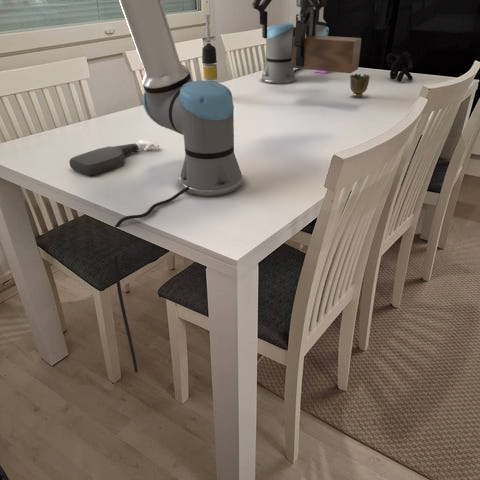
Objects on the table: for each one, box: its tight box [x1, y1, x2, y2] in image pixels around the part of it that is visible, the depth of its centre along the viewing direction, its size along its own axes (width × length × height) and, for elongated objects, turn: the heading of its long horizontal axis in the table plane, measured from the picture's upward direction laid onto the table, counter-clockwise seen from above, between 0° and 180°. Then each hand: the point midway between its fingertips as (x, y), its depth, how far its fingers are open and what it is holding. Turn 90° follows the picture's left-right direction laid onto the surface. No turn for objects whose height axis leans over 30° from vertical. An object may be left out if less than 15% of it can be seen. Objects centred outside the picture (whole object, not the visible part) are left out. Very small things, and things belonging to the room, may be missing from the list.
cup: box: [349, 73, 371, 98], centre depth 175 cm, size 8×7×8 cm
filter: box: [201, 14, 219, 83], centre depth 171 cm, size 6×6×30 cm
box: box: [292, 35, 362, 74], centre depth 159 cm, size 23×7×10 cm, turn 58°
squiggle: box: [385, 51, 414, 83], centre depth 198 cm, size 11×10×15 cm
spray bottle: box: [68, 139, 160, 177], centre depth 124 cm, size 3×11×24 cm
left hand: (288, 36), depth 124 cm, fingers open, 13 cm apart
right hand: (304, 63), depth 165 cm, fingers closed on box, 7 cm apart
